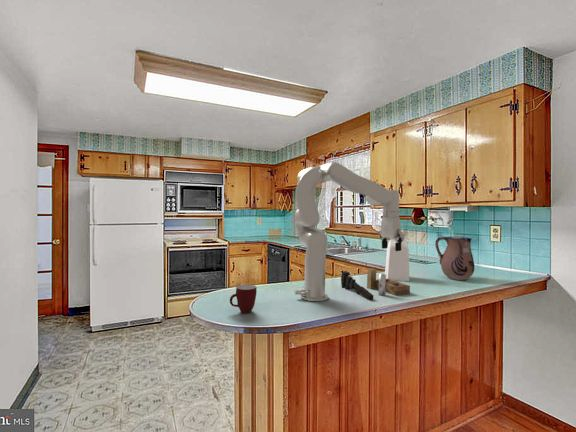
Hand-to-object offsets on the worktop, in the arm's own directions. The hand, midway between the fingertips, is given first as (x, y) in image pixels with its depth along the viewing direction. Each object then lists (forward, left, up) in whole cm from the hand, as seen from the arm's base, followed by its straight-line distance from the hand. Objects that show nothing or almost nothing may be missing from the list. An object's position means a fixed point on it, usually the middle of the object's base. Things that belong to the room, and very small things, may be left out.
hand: (391, 249), depth 158 cm
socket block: (+3, +3, -22) cm, 22 cm away
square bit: (-4, +10, -22) cm, 24 cm away
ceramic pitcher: (+58, +12, -22) cm, 63 cm away
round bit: (-7, -2, -22) cm, 23 cm away
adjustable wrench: (-17, +5, -22) cm, 28 cm away
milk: (+25, +24, -22) cm, 41 cm away
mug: (-76, -3, -22) cm, 79 cm away
